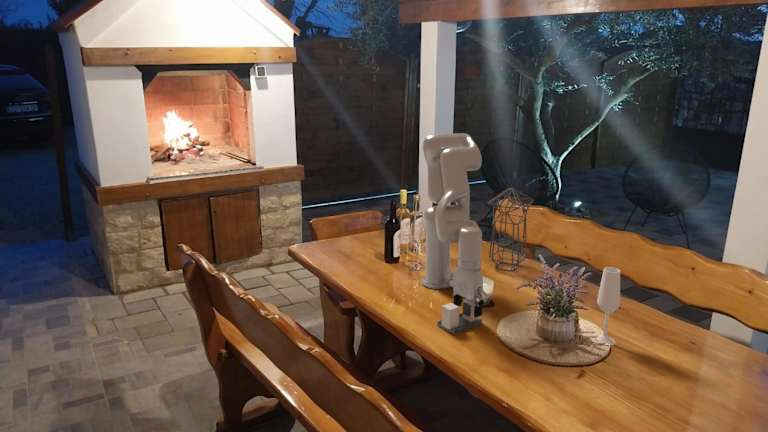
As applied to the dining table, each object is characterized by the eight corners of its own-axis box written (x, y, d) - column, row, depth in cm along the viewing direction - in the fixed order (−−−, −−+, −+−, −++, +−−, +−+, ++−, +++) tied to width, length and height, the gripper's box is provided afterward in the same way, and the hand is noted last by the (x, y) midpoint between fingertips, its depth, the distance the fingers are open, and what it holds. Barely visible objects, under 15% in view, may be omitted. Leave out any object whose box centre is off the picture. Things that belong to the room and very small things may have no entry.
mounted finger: (451, 321, 195) (452, 302, 194) (459, 325, 192) (460, 306, 190) (441, 325, 193) (441, 305, 191) (449, 329, 190) (450, 309, 188)
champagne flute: (615, 337, 186) (623, 267, 179) (616, 347, 180) (624, 274, 173) (593, 334, 188) (600, 265, 181) (593, 344, 182) (600, 272, 175)
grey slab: (465, 315, 202) (465, 311, 202) (482, 323, 196) (482, 319, 195) (437, 325, 195) (437, 321, 194) (453, 334, 188) (453, 330, 188)
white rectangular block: (471, 314, 200) (471, 296, 198) (479, 318, 197) (480, 299, 195) (461, 318, 198) (462, 299, 196) (469, 322, 195) (470, 303, 193)
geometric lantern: (530, 265, 250) (536, 186, 240) (517, 277, 237) (523, 195, 227) (496, 258, 258) (500, 181, 248) (482, 269, 245) (485, 189, 235)
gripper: (443, 258, 196) (442, 305, 201) (480, 273, 183) (478, 323, 187) (459, 254, 200) (457, 300, 205) (496, 268, 187) (494, 317, 192)
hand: (467, 311), depth 196 cm, fingers open, 9 cm apart
